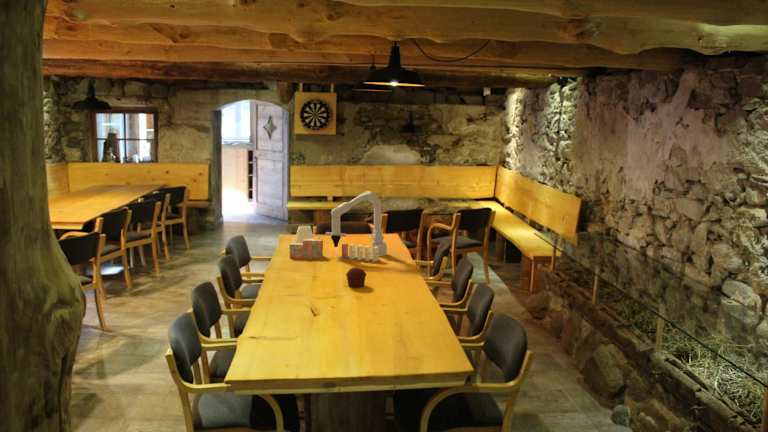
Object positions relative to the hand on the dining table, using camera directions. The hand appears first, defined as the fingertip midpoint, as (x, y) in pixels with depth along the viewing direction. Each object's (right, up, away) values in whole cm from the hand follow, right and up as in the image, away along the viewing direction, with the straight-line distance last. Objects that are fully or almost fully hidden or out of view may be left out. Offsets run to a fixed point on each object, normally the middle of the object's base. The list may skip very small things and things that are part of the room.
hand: (336, 246), depth 404 cm
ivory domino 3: (+21, -8, -8) cm, 24 cm away
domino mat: (+15, -8, -5) cm, 18 cm away
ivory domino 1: (+11, -7, -3) cm, 14 cm away
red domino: (+6, -7, -1) cm, 9 cm away
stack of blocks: (-20, -7, +1) cm, 21 cm away
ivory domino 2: (+16, -8, -6) cm, 19 cm away
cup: (-26, -1, +37) cm, 45 cm away
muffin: (+16, -19, -65) cm, 70 cm away
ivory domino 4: (+26, -9, -10) cm, 29 cm away
